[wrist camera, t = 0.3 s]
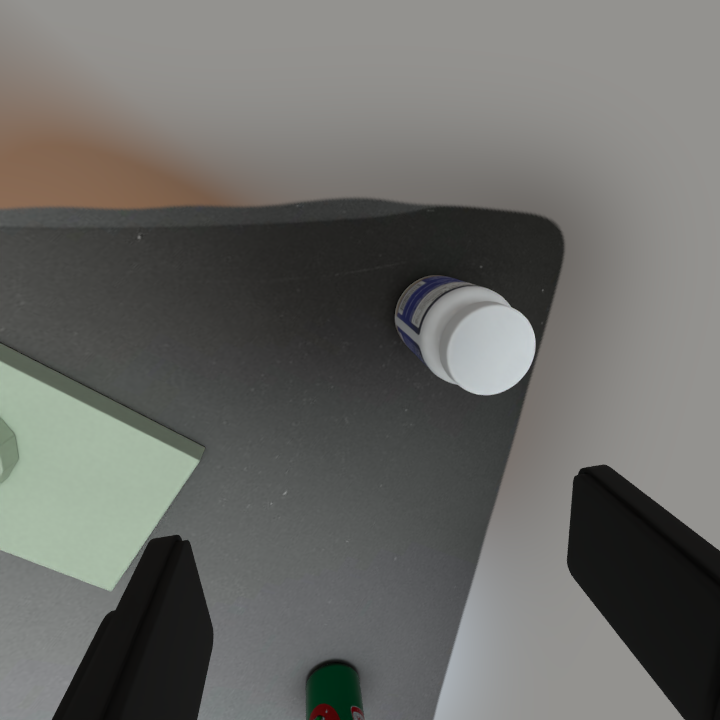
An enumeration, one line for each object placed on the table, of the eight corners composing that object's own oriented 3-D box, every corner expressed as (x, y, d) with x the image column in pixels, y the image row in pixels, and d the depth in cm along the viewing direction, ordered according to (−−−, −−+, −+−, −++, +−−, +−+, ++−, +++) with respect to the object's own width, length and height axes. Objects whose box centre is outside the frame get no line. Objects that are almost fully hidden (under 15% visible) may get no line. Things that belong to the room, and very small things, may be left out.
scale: (-109, 482, 28) (-164, 515, 25) (-30, 327, 26) (-77, 341, 23) (121, 572, 33) (101, 610, 30) (206, 447, 31) (194, 473, 27)
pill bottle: (471, 345, 31) (546, 395, 22) (397, 358, 31) (440, 415, 21) (467, 267, 29) (547, 286, 20) (388, 280, 29) (431, 305, 19)
